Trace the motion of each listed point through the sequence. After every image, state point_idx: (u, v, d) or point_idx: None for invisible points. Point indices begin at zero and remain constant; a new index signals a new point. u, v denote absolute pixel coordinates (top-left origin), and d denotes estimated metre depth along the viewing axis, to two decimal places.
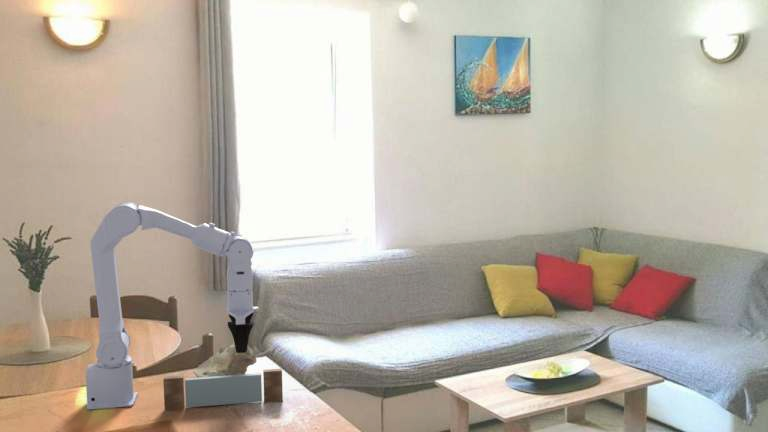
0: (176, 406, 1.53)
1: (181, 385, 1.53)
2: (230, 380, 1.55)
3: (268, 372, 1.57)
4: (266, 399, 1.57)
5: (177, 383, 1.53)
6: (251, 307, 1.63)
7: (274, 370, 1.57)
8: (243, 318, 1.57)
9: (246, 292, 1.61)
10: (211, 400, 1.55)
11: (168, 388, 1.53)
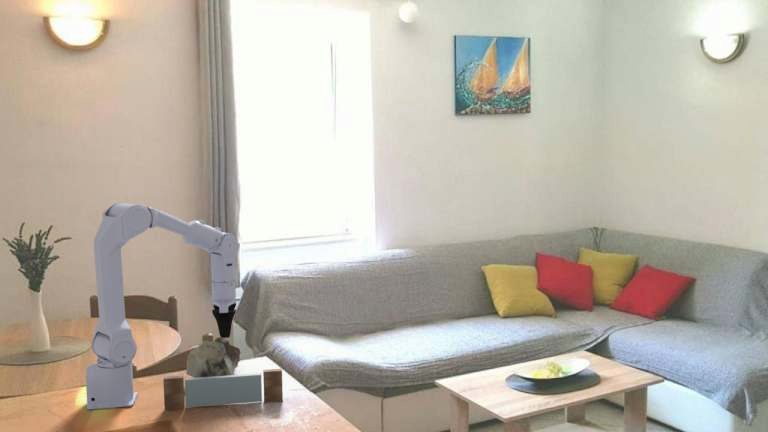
0: (176, 406, 1.53)
1: (181, 385, 1.53)
2: (230, 380, 1.55)
3: (268, 372, 1.57)
4: (266, 399, 1.57)
5: (177, 383, 1.53)
6: (234, 297, 1.76)
7: (274, 370, 1.57)
8: (226, 307, 1.70)
9: (229, 283, 1.74)
10: (211, 400, 1.55)
11: (168, 388, 1.53)
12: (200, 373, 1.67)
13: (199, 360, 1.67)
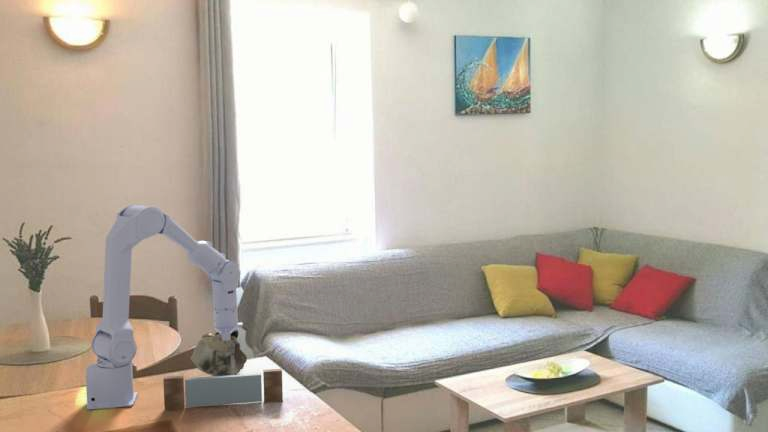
0: (176, 406, 1.53)
1: (181, 385, 1.53)
2: (230, 380, 1.55)
3: (268, 372, 1.57)
4: (266, 399, 1.57)
5: (177, 383, 1.53)
6: (236, 323, 1.77)
7: (274, 370, 1.57)
8: (228, 335, 1.71)
9: (231, 310, 1.75)
10: (211, 400, 1.55)
11: (168, 388, 1.53)
12: (204, 361, 1.68)
13: (207, 349, 1.69)
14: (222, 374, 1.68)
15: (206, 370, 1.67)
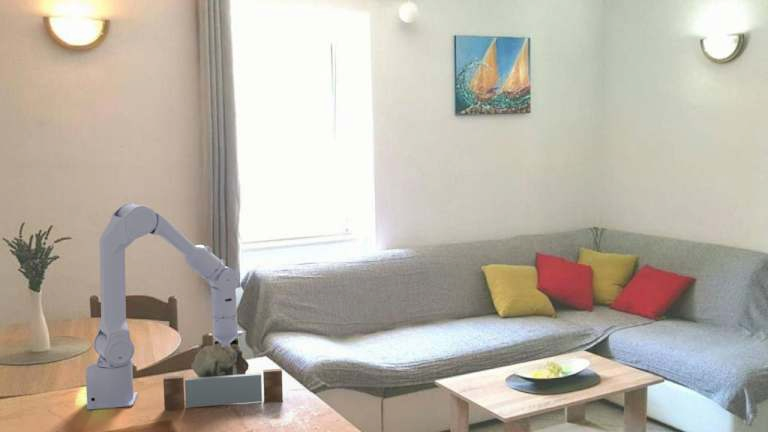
0: (176, 406, 1.53)
1: (181, 385, 1.53)
2: (230, 380, 1.55)
3: (268, 372, 1.57)
4: (266, 399, 1.57)
5: (177, 383, 1.53)
6: (236, 332, 1.72)
7: (274, 370, 1.57)
8: (228, 344, 1.66)
9: (231, 318, 1.70)
10: (211, 400, 1.55)
11: (168, 388, 1.53)
12: (205, 372, 1.62)
13: (208, 358, 1.63)
14: None
15: None
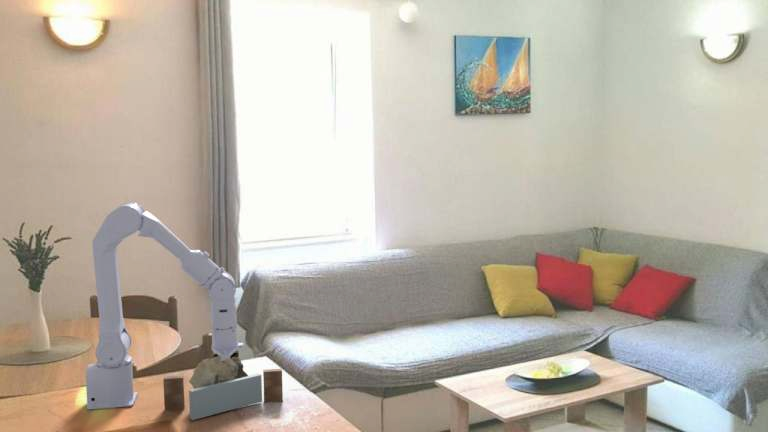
0: (176, 406, 1.53)
1: (181, 385, 1.53)
2: (234, 385, 1.52)
3: (268, 372, 1.57)
4: (266, 399, 1.57)
5: (177, 383, 1.53)
6: (236, 344, 1.62)
7: (274, 370, 1.57)
8: (228, 357, 1.56)
9: (230, 329, 1.60)
10: (216, 408, 1.50)
11: (168, 388, 1.53)
12: None
13: (208, 372, 1.53)
14: None
15: None
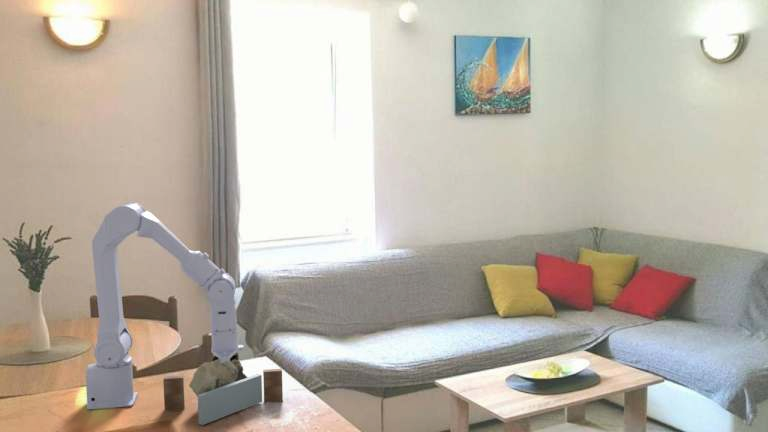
0: (176, 406, 1.53)
1: (181, 385, 1.53)
2: (238, 386, 1.51)
3: (268, 372, 1.57)
4: (266, 399, 1.57)
5: (177, 383, 1.53)
6: (236, 346, 1.60)
7: (274, 370, 1.57)
8: (228, 360, 1.54)
9: (230, 331, 1.58)
10: (223, 411, 1.48)
11: (168, 388, 1.53)
12: (205, 390, 1.50)
13: (208, 376, 1.51)
14: None
15: None
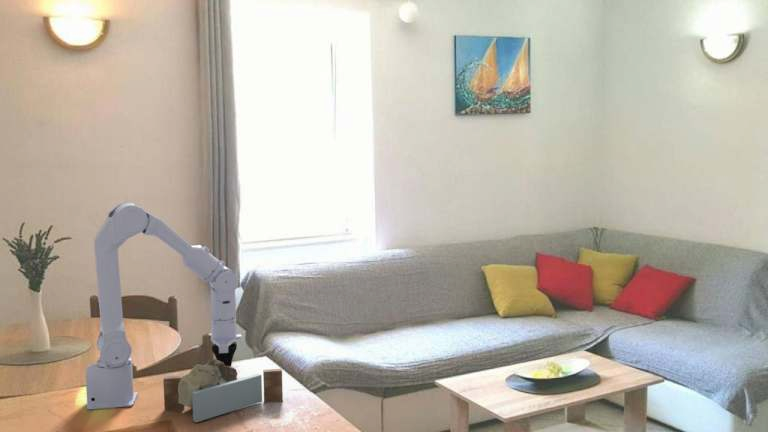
0: (176, 406, 1.53)
1: None
2: (235, 385, 1.52)
3: (268, 372, 1.57)
4: (266, 399, 1.57)
5: (177, 383, 1.53)
6: (234, 335, 1.67)
7: (274, 370, 1.57)
8: (226, 347, 1.61)
9: (229, 321, 1.65)
10: (219, 410, 1.49)
11: (168, 388, 1.53)
12: None
13: (191, 387, 1.50)
14: None
15: None
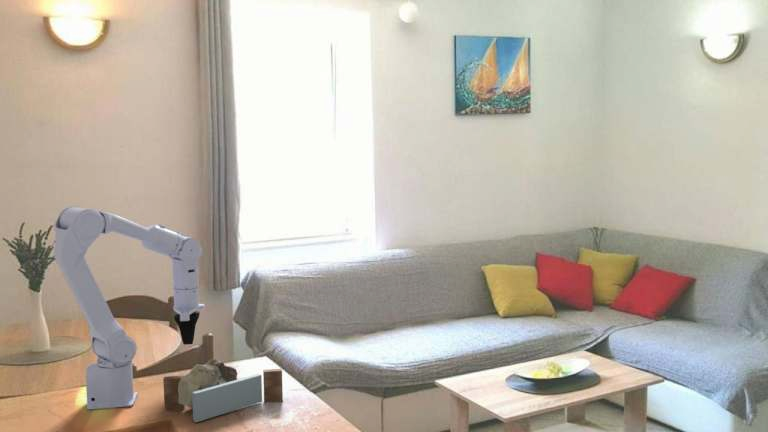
0: (176, 406, 1.53)
1: None
2: (235, 385, 1.52)
3: (268, 372, 1.57)
4: (266, 399, 1.57)
5: (177, 383, 1.53)
6: (197, 304, 1.68)
7: (274, 370, 1.57)
8: (187, 315, 1.62)
9: (191, 290, 1.66)
10: (219, 410, 1.49)
11: (168, 388, 1.53)
12: None
13: (191, 387, 1.50)
14: None
15: None
